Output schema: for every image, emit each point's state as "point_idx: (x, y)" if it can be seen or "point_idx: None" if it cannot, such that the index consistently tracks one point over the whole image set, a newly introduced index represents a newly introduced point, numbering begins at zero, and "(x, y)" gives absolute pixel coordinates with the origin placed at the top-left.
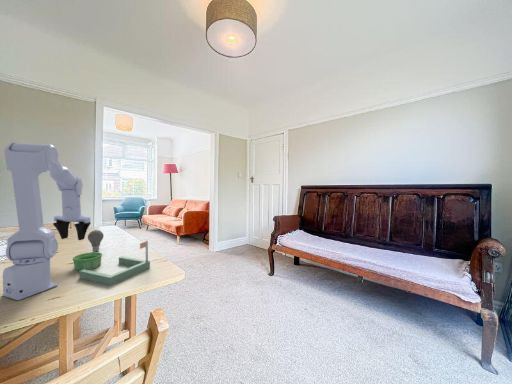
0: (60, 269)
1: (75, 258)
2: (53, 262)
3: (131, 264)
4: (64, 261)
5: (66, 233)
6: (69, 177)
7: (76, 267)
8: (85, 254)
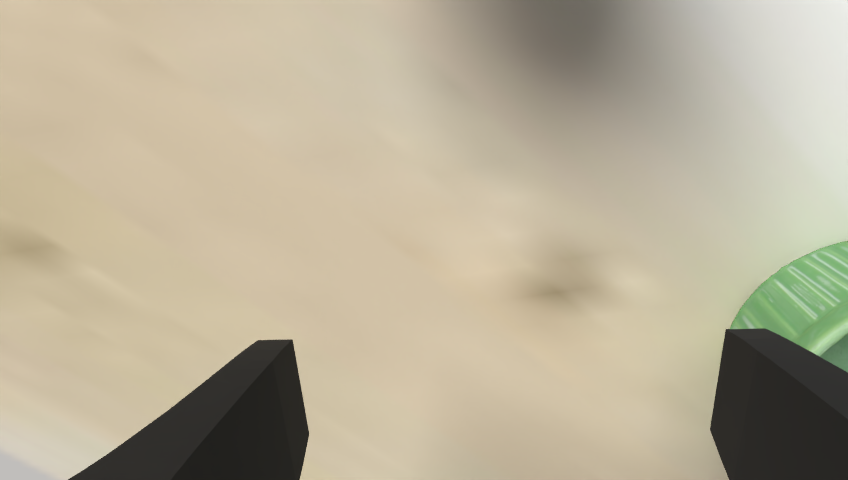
0: (601, 446)
1: None
2: (320, 303)
3: None
4: (410, 257)
5: (255, 433)
6: None
7: None
8: (818, 353)
